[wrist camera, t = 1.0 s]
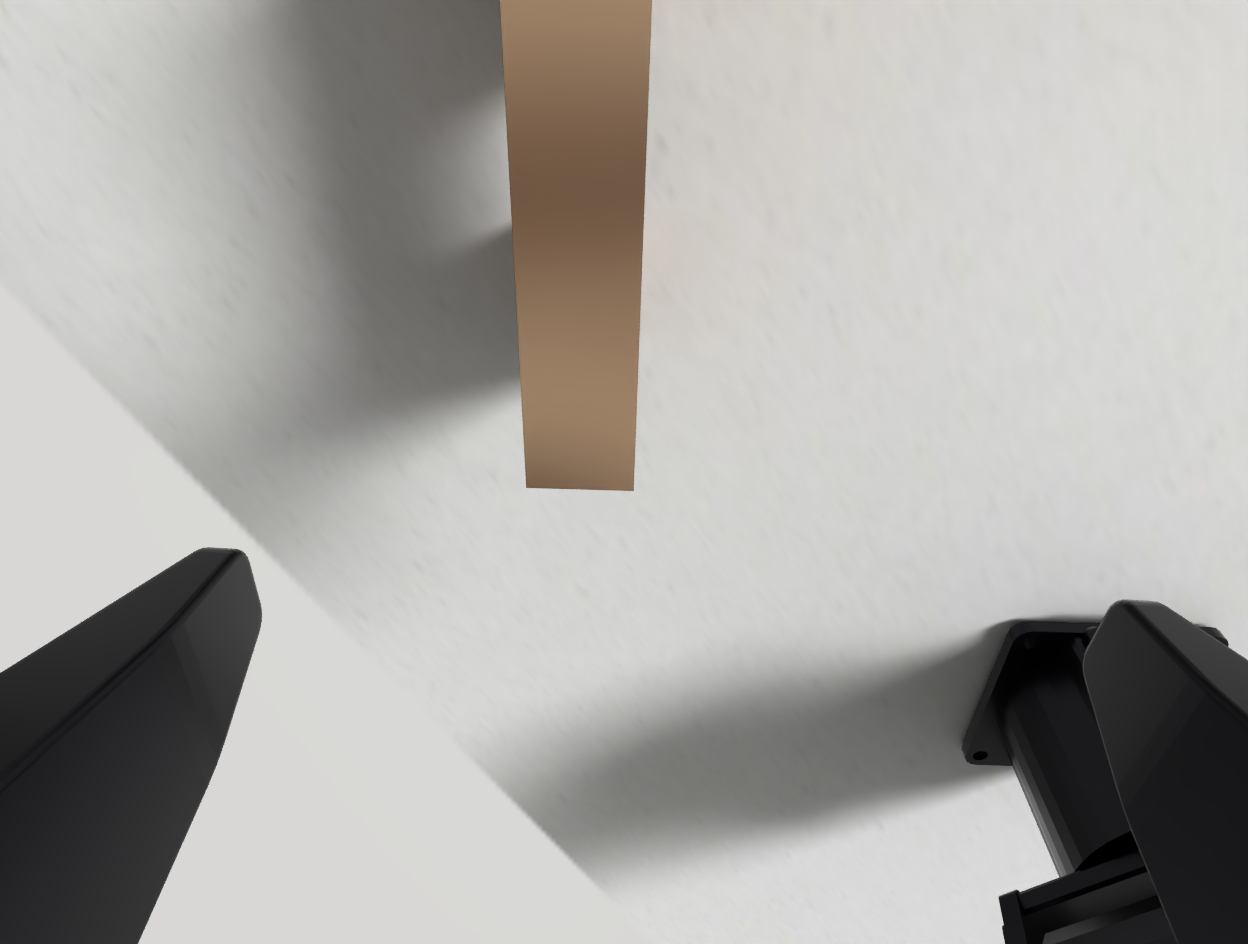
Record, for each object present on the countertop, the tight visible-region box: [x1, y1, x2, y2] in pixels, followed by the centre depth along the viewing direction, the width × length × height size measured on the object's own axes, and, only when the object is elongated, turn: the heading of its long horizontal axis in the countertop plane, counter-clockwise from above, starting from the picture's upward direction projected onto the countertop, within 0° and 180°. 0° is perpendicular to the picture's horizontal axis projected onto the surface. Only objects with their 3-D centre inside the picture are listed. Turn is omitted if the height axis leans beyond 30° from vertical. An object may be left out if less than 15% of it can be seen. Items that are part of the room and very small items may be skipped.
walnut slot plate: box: [500, 0, 652, 491], centre depth 15 cm, size 10×2×6 cm, turn 179°
